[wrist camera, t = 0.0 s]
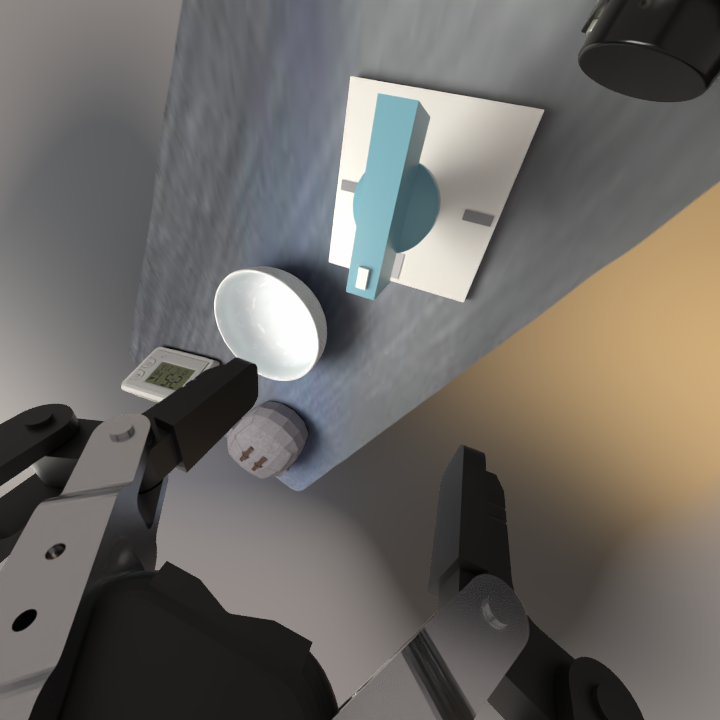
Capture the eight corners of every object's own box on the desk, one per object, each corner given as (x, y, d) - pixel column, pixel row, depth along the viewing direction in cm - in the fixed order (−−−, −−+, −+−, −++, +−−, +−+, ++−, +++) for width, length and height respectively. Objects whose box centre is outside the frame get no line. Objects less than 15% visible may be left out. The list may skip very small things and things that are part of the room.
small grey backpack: (284, 466, 69) (326, 431, 57) (263, 496, 62) (306, 463, 51) (234, 426, 68) (267, 382, 56) (208, 453, 61) (239, 409, 49)
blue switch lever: (378, 113, 23) (338, 84, 16) (464, 130, 22) (459, 106, 15) (353, 261, 30) (318, 284, 23) (418, 280, 29) (400, 310, 22)
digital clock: (225, 361, 57) (180, 392, 48) (227, 393, 62) (187, 427, 53) (158, 331, 59) (104, 357, 51) (165, 365, 64) (118, 393, 56)
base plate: (354, 79, 29) (322, 52, 23) (542, 112, 26) (562, 90, 19) (332, 260, 39) (305, 274, 33) (463, 299, 36) (461, 322, 30)
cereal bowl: (359, 310, 41) (341, 330, 36) (309, 375, 51) (288, 399, 45) (265, 232, 40) (230, 240, 34) (232, 315, 50) (201, 331, 44)
